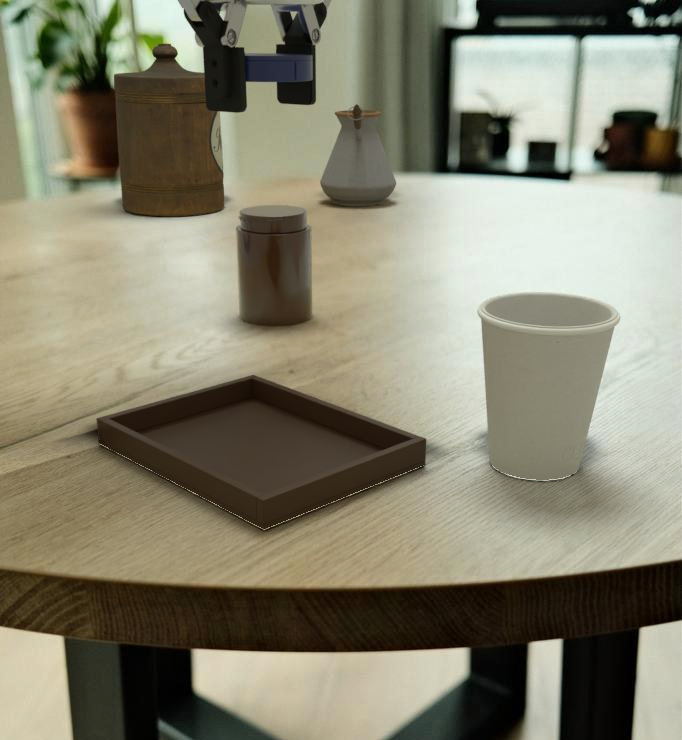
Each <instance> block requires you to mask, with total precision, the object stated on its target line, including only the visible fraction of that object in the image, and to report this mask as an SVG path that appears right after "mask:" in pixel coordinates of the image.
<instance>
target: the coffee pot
mask: <svg viewBox="0 0 682 740" xmlns="http://www.w3.org/2000/svg"><path fill="white" fill-rule="evenodd" d="M334 115H335V116H336V118H337V120H338V121H339V124H340V126H341V127H340V130H339V132H338V134H337V137H336V139H335V143H334V145H333V147H332V149H331V153H330V155H329V158H328V161H327V163H326V165H325V168H324V171H323V173H322V175H321V178H320V181H319V183H320V187H321V189H322V192H323V193H324V194H325V196H326V197H327V198H329V199H330V200H332V203H333V204H335V205H339V206H345V207H346V206H347V207H367V206H366V205H372V206H377V205H376V204H378V205H382V204H384V200H385V199H387V198H389V197H390V196H391V195H392V193H393V192H394V190H395V188H396V186H397V180H396V177H395V175H394V172H393V170H392V166H391V164H390V161H389V159H388V156H387V153H386V150H385V148H384V145H383V142H382V140H381V137H380V134H379V132H378V129H377V123H378V118H379V116H381V115H382V113H381V111H378V110H367V109H364V108H363V107H362V106H360V105H359V104H358V103H356V104H354V105H353V106H351V107H350V108H348V109H347V110H338V111H335V112H334ZM381 203H382V204H381Z"/></svg>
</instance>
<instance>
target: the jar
mask: <svg viewBox="0 0 682 740" xmlns="http://www.w3.org/2000/svg"><path fill="white" fill-rule="evenodd" d="M238 220H239V225H237V226H236V227H235V243H236V245H235V246H236V267H237V270H236V271H237V291H238V314H239V315H238V316H239V317H238V318H239V319H240V321H242V322H244V323H246V324H249V325H254V326H261V327H288V326H295V325H300V324H304V323H307V322H308V321H311V320H312V318H313V245H312V244H313V237H312V236H313V235H312V233H313V232H312V231H313V229H312V226H311V225H310V224H308V211H307V209H305V208H303V207H300V206H295V205H285V204H284V205H283V204H280V205H279V204H265V205H255V206H249V207H245V208H242V209H240V210H239V216H238Z"/></svg>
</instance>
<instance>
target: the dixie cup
mask: <svg viewBox="0 0 682 740" xmlns="http://www.w3.org/2000/svg"><path fill="white" fill-rule="evenodd" d="M476 312H477V313H476V314H477V315H478V318H480V320H481V321H480V323H481V336H482V337H481V338H482V340H481V341H482V356H483V357H482V358H483V370H484V371H483V372H484V373H483V374H484V386H485V387H484V389H485V391H484V392H485V404H486V405H485V406H486V424H487V439H488V440H487V443H488V459H489V464H490V463H491V464H492V465H493V466H494V467H495V468H496V469H498V470H499V471H501V472H503V473H506V474H509V475H512V476H516V477H520V478H526V479H536V480H549V479H558V478H563V477H566V476H569V475H572V474H573V473H575V472H576V471H577V470H578V469H579V470H580V467H581V462H582V458H583V455H584V450H585V446H586V442H587V438H588V434H589V431H590V426H591V422H592V418H593V414H594V410H595V407H596V403H597V398H598V394H599V390H600V388H601V387H600V386H601V382H602V379H603V375H604V370H605V366H606V362H607V359H608V354H609V350H610V348H611V347H610V346H611V343H612V339H613V335H614V332H615V327H616V326H618V324H619V323H620V321H621V314H620V312H619V311H618V310H617V309H616V308H615V307H614V306H613V305H611V304H610V303H608V302H605V301H602V300H599V299H596V298H593V297H588V296H584V295H577V294H571V293H563V292H550V291H549V292H547V291H546V292H545V291H528V292H527V291H526V292H513V293H506V294H501V295H495V296H493V297H490V298H487V299H486V300H484V301H483V302H481V303H480V304H479V305H478V307H477V311H476ZM579 470H578V471H579Z"/></svg>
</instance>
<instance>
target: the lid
mask: <svg viewBox="0 0 682 740" xmlns="http://www.w3.org/2000/svg"><path fill="white" fill-rule="evenodd" d="M312 59H313V56H312V55H308V54H280V53H276V52H275V53H274V52H273V53H271V52H269V53H267V52H261V53H260V52H245V68H246V83H277V82H299V81H311V80H312V79H313V60H312Z"/></svg>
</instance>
